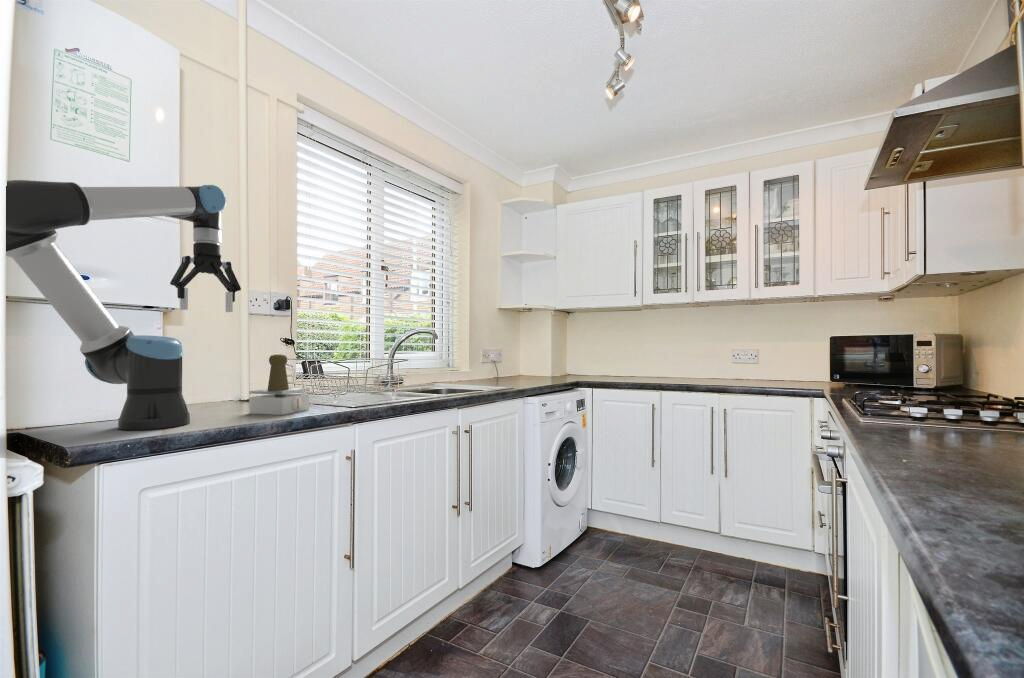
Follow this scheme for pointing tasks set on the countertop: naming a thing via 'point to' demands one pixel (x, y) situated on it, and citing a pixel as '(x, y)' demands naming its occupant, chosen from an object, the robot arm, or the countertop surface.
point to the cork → (278, 373)
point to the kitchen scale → (278, 403)
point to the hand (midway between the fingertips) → (207, 311)
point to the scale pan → (290, 390)
